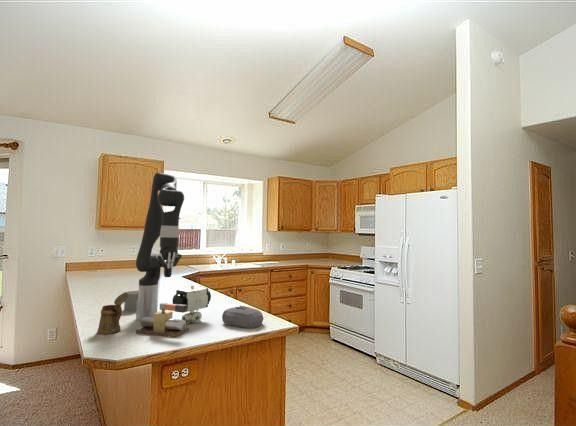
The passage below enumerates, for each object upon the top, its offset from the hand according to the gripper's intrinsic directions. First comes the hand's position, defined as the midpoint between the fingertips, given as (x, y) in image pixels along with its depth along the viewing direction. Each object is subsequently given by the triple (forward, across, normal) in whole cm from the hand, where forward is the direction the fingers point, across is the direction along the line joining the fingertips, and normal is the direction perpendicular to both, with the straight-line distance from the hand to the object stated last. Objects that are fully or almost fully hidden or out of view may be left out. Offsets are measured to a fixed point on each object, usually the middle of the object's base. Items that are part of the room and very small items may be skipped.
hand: (167, 277), depth 140 cm
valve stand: (+25, +4, +7) cm, 27 cm away
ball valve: (+26, +23, +7) cm, 35 cm away
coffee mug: (+27, +27, +56) cm, 67 cm away
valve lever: (+15, +5, +2) cm, 16 cm away
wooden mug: (+26, -7, +25) cm, 37 cm away
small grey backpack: (+25, +33, -17) cm, 45 cm away
